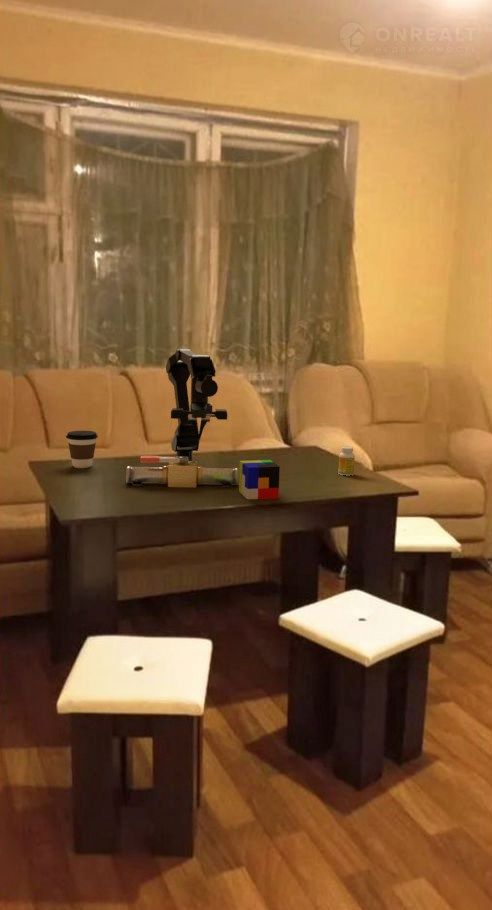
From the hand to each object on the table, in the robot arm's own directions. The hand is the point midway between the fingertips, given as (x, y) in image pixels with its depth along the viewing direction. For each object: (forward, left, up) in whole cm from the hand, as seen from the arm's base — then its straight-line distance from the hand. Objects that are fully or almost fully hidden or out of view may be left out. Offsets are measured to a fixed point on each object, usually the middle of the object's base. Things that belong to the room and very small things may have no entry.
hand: (198, 439), depth 267 cm
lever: (+11, -11, -6) cm, 17 cm away
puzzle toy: (+23, +19, -13) cm, 33 cm away
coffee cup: (-14, -41, -13) cm, 45 cm away
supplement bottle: (-8, +52, -13) cm, 54 cm away
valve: (+11, -5, -13) cm, 18 cm away
